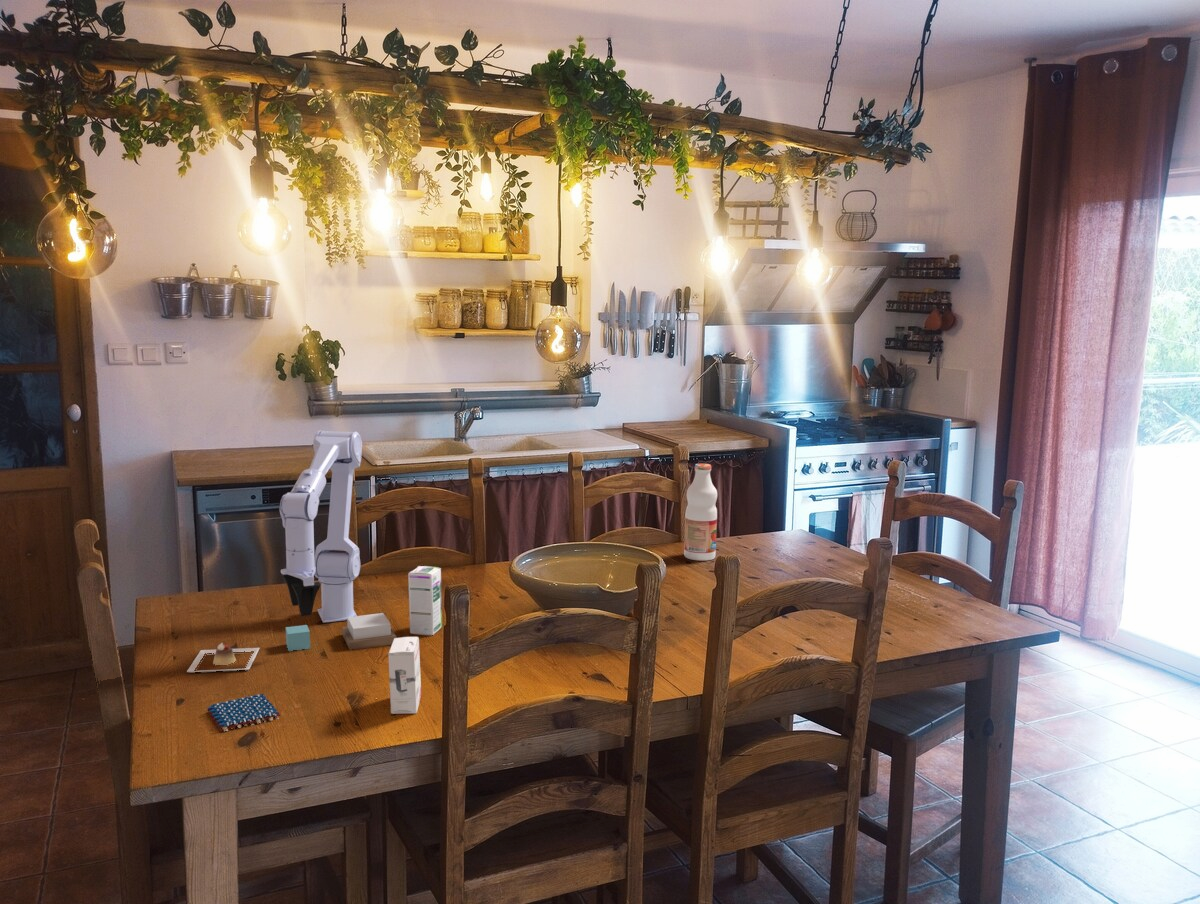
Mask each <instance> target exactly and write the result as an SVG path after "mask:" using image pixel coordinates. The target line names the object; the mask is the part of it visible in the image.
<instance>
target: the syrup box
mask: <svg viewBox="0 0 1200 904" xmlns="http://www.w3.org/2000/svg"><path fill="white" fill-rule="evenodd" d="M441 570H442V567H438V566H430V565H429V566H428V565H424V566H423V565H422V566H421V565H417V567H416V568H415V569H413V570H411V571H409V572H408V574H407V577H408V579H407V580H408V605H409V606H408V608H409V609H408V611H409V634H413V635H420V636H432V635H433V636H434V635H435V634H436V633H437V632H438V631H439V630H441V628H443V609H442V608H443V607H442V606H443V603H442V571H441Z"/></svg>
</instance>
